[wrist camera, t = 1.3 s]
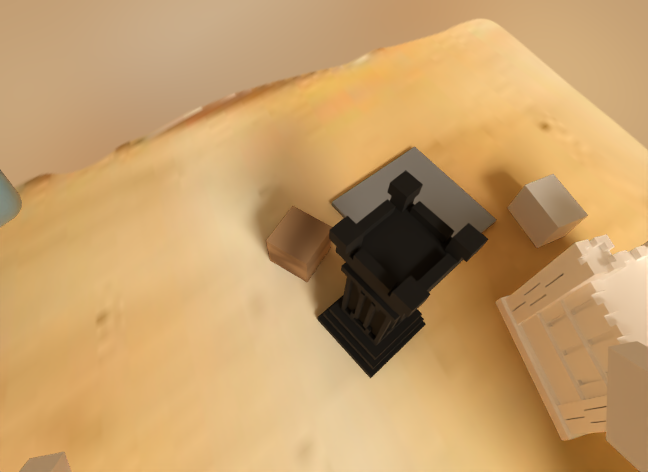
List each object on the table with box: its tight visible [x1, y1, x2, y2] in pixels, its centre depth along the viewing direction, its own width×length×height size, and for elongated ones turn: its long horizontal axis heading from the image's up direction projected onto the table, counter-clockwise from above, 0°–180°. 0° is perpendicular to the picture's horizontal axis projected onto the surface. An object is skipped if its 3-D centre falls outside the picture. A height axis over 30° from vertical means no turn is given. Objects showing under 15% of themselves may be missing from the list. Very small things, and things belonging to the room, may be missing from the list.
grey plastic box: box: [507, 174, 588, 248], centre depth 49 cm, size 6×4×5 cm, turn 24°
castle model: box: [495, 234, 648, 441], centre depth 37 cm, size 14×14×15 cm
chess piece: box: [318, 170, 488, 378], centre depth 36 cm, size 8×8×20 cm
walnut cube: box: [266, 206, 332, 282], centre depth 46 cm, size 5×5×5 cm
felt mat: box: [332, 147, 496, 238], centre depth 51 cm, size 14×14×1 cm
